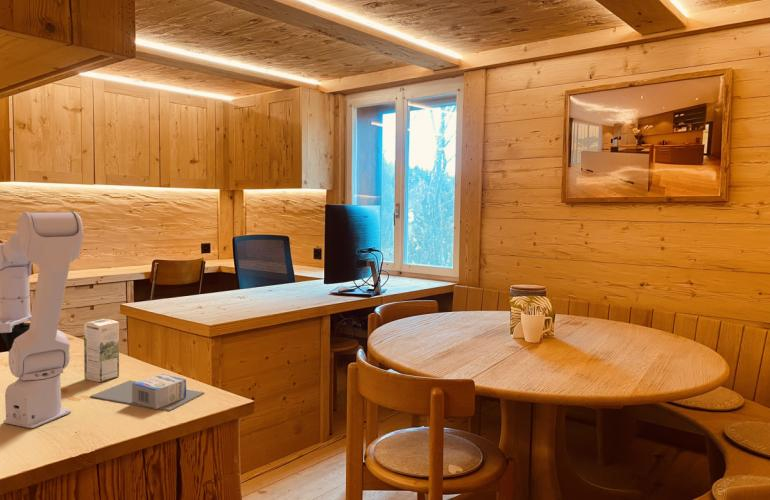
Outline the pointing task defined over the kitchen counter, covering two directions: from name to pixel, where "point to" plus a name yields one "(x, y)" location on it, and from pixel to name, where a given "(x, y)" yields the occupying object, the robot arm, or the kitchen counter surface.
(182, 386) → the medicine box
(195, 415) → the kitchen counter surface
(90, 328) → the syrup box
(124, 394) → the mat
